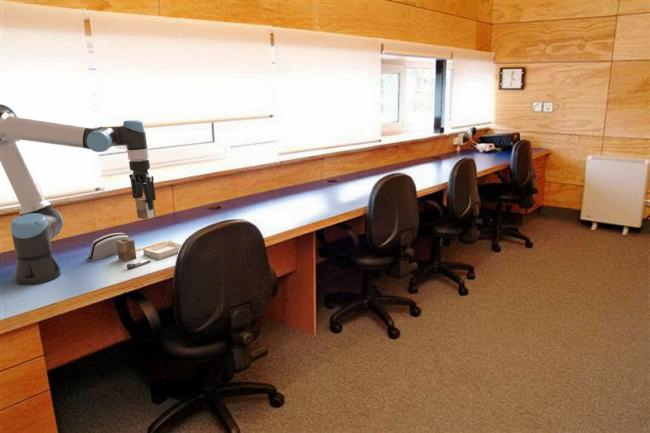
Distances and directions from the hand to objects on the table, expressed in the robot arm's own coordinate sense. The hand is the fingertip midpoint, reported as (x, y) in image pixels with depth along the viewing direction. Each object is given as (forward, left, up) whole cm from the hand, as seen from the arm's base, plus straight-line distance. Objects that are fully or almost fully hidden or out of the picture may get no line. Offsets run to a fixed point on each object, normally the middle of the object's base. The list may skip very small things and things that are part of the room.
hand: (146, 216), depth 206 cm
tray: (+7, 0, -18) cm, 19 cm away
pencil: (+7, +12, -18) cm, 23 cm away
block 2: (0, 0, 0) cm, 0 cm away
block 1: (-7, +6, -18) cm, 20 cm away
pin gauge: (-8, -5, -18) cm, 20 cm away
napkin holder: (-7, +18, -18) cm, 26 cm away
